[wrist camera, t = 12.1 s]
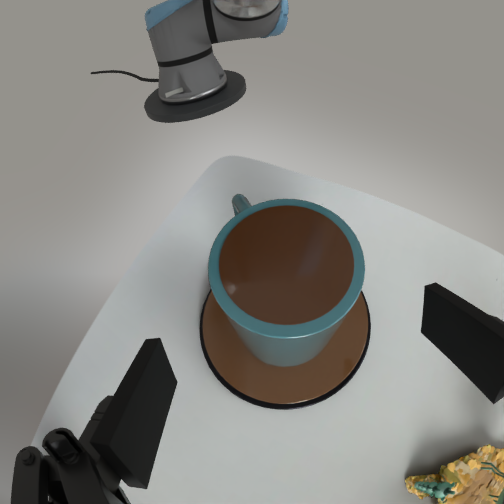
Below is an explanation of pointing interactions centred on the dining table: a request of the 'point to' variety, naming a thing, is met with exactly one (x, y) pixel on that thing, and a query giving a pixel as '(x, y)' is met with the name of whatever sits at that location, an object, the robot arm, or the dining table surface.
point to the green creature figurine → (465, 479)
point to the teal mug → (285, 300)
